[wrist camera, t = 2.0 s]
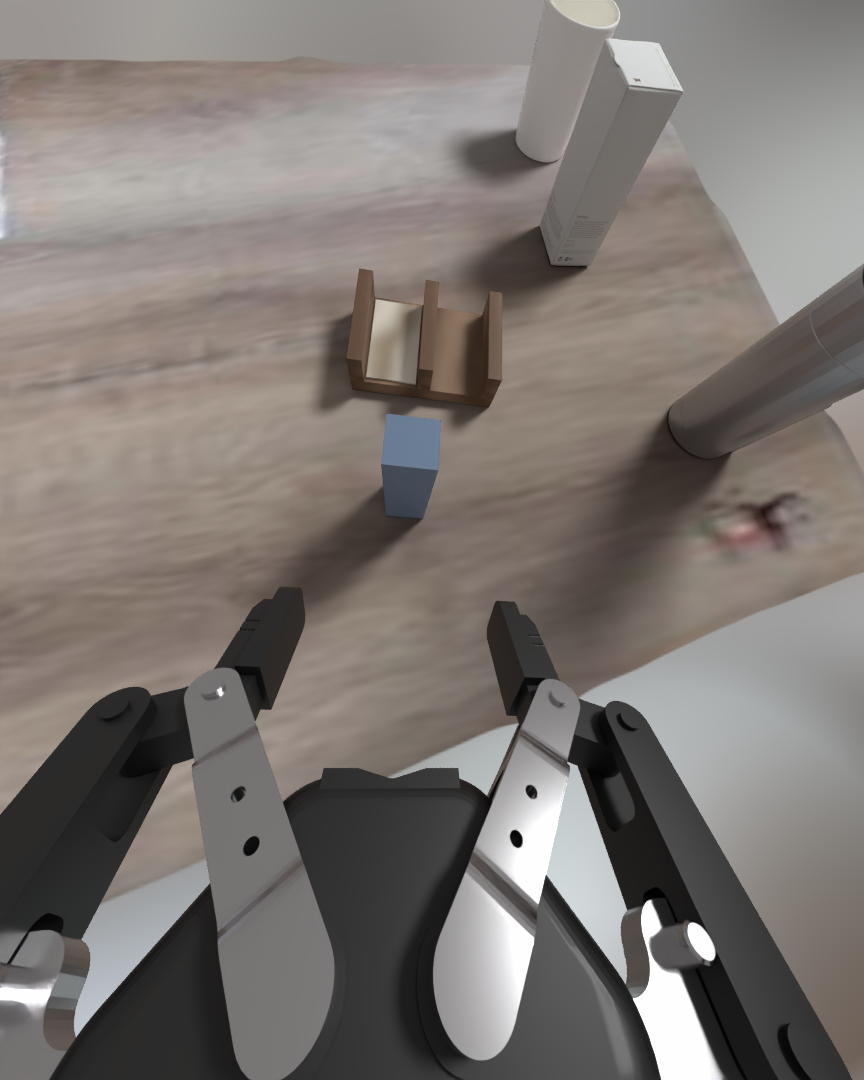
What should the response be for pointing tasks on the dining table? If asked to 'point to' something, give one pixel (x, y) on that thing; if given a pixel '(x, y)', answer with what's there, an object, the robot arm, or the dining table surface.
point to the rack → (424, 347)
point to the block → (409, 464)
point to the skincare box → (608, 147)
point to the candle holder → (562, 73)
